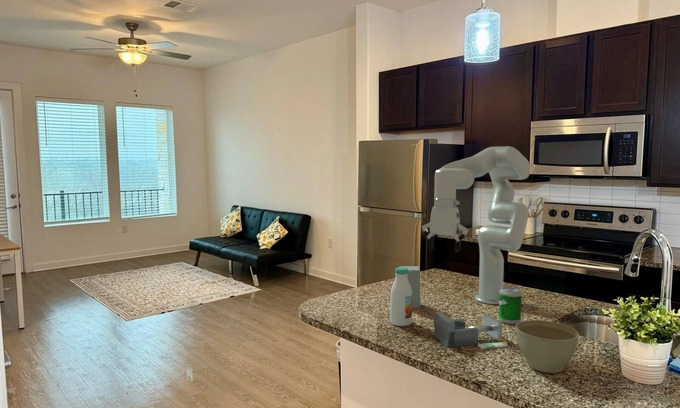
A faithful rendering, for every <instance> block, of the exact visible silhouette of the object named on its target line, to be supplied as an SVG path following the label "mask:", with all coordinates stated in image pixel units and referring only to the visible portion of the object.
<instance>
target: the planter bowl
mask: <svg viewBox="0 0 680 408" xmlns="http://www.w3.org/2000/svg"><path fill="white" fill-rule="evenodd" d="M515 330H516V340H517V344H518V347H519V349H520V352H521V354H522V356H523V357H524V358H525V361H526V364H527V366H528V367H530V368H531V369H533V370H536V371H538V372H543V373H549V374H558V373H561V372H563V371H564V369H565V366H566V365H567V364H568V363H570V361H571V360H572V358H573V357H574V355H575V353H576V349H577V347H578V340H579V338H580V334H579V332H578V331H577V330H576V328H573V327H571V326H569V325H565V324H563V323H559V322H554V321H551V320H541V319H540V320H538V319H527V320H521V321H520V322H518V323H517V324H515Z"/></svg>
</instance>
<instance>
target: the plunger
mask: <svg viewBox="0 0 680 408" xmlns="http://www.w3.org/2000/svg"><path fill="white" fill-rule="evenodd" d="M483 316H484V317H483V325H478V326H477V325H475V326H468V327H467V328H477V329H478V333H486V334H487V335H488V336H490V337H492V338H493V340H495V341H497V342H505V343H506V344H507V345H509V341H508V340H506V339H504V337H503V322H501V320H499V319H496V318H495V317H493V316H492V315H491V314H489V313H484V315H483Z"/></svg>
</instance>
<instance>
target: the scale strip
mask: <svg viewBox="0 0 680 408" xmlns="http://www.w3.org/2000/svg"><path fill="white" fill-rule="evenodd" d="M507 347H509V344H506V343H505V342H503V341H497V342H487V343H478V345H477V348H479V349H481V350H487V349H499V348H507Z"/></svg>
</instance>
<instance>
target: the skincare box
mask: <svg viewBox="0 0 680 408" xmlns="http://www.w3.org/2000/svg"><path fill="white" fill-rule="evenodd" d="M399 267H403V268H407V269H408V275H407V277H408V281H409V284H410V286H411V289H412V309H415V308H416V309H417V308H419V309H420V308H421V269H420V266H419V265H415V266H414V265H412V266H409V265H408V266H407V265H406V266H398V268H399Z"/></svg>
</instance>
